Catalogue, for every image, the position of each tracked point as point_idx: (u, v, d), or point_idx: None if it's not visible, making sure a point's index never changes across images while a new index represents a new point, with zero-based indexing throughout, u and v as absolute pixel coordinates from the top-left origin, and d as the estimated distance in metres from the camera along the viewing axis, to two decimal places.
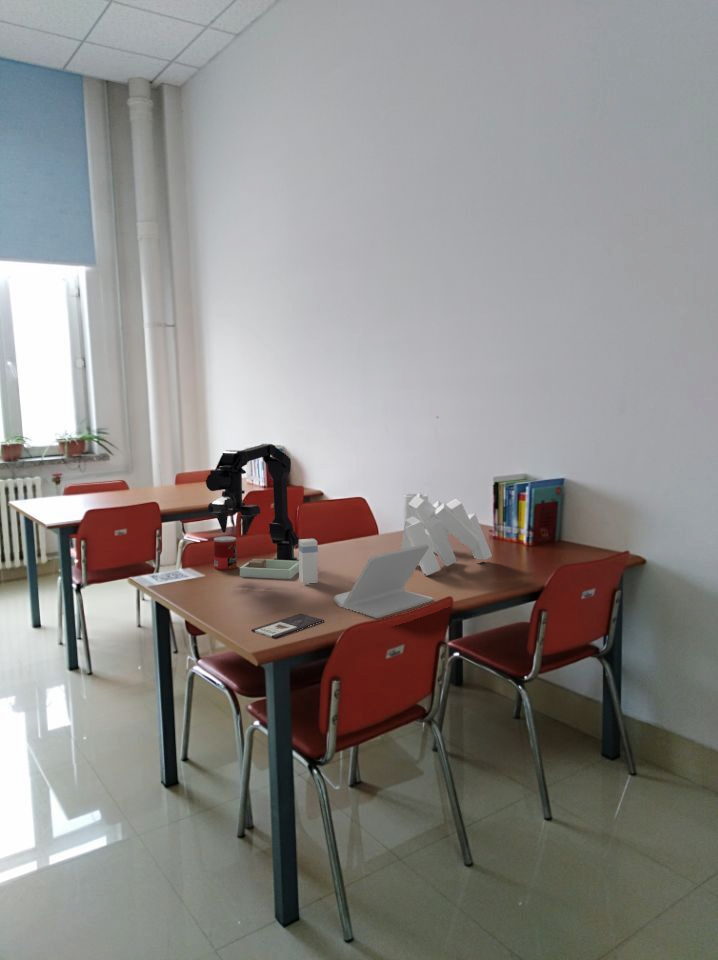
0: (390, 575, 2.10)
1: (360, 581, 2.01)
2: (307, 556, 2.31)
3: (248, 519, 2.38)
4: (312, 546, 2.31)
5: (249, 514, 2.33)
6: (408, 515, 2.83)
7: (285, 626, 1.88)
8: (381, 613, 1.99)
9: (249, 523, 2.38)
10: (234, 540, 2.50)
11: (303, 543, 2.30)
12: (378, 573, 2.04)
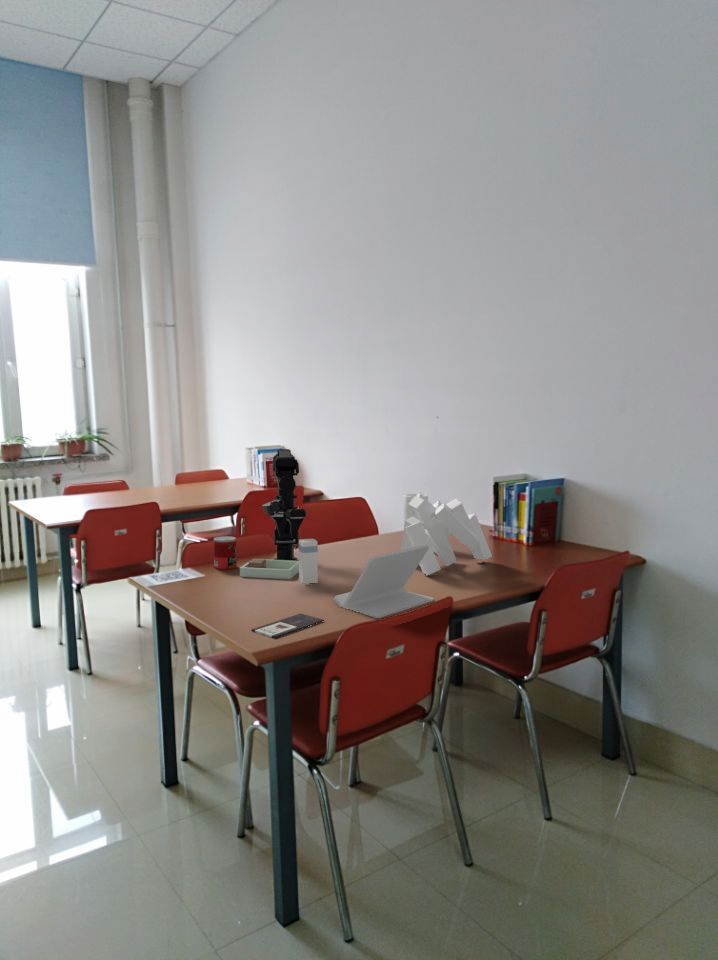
0: (390, 575, 2.10)
1: (361, 581, 2.01)
2: (307, 556, 2.31)
3: (295, 522, 2.43)
4: (312, 546, 2.31)
5: (291, 516, 2.38)
6: (408, 515, 2.83)
7: (285, 626, 1.88)
8: (382, 613, 1.98)
9: (296, 526, 2.43)
10: (234, 540, 2.50)
11: (303, 543, 2.30)
12: (379, 573, 2.04)
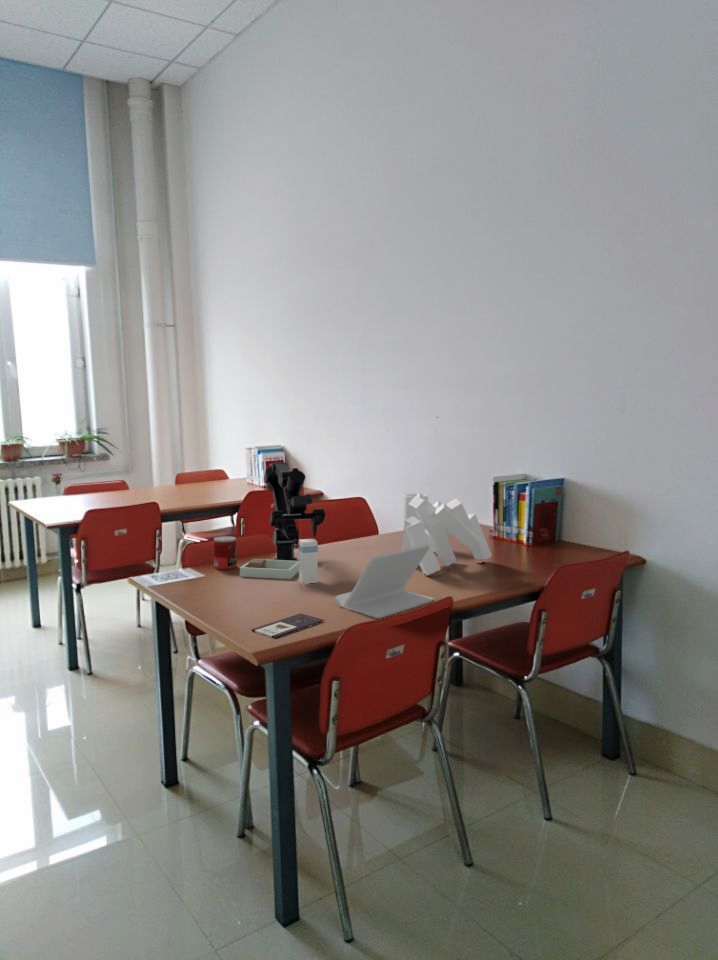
0: (391, 575, 2.10)
1: (361, 582, 2.00)
2: (307, 556, 2.31)
3: None
4: (312, 546, 2.31)
5: (324, 512, 2.46)
6: (408, 515, 2.83)
7: (285, 626, 1.88)
8: (382, 614, 1.98)
9: None
10: (234, 540, 2.50)
11: (303, 543, 2.30)
12: (379, 573, 2.04)
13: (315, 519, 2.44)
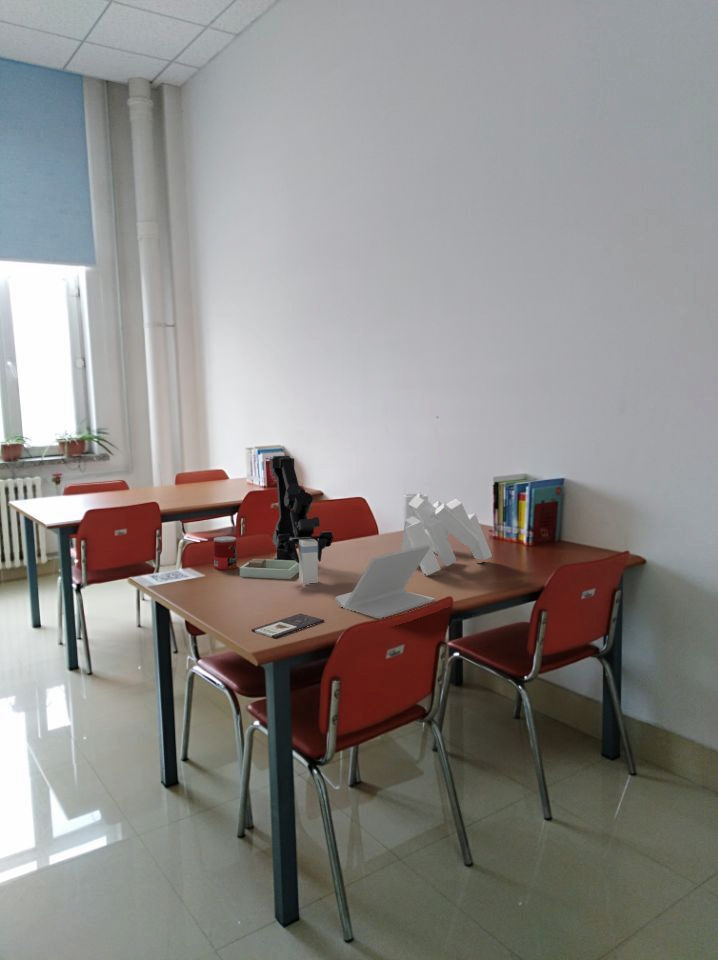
0: (391, 576, 2.10)
1: (362, 582, 2.00)
2: (307, 556, 2.31)
3: None
4: (312, 546, 2.31)
5: (332, 535, 2.38)
6: (408, 515, 2.83)
7: (285, 626, 1.88)
8: (383, 614, 1.98)
9: None
10: (234, 540, 2.50)
11: (303, 543, 2.30)
12: (380, 573, 2.04)
13: (320, 543, 2.36)
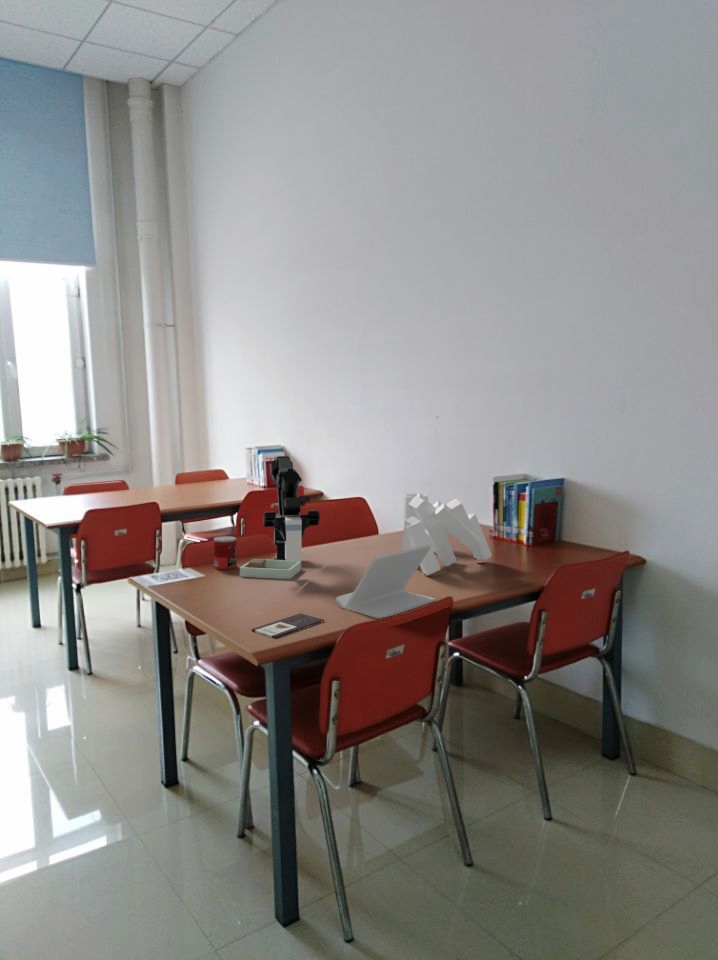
0: (392, 576, 2.10)
1: (363, 582, 2.00)
2: (291, 533, 2.34)
3: None
4: (296, 524, 2.34)
5: (319, 514, 2.40)
6: (408, 515, 2.83)
7: (285, 626, 1.88)
8: (384, 614, 1.98)
9: (304, 530, 2.40)
10: (234, 540, 2.50)
11: (287, 521, 2.33)
12: (381, 573, 2.04)
13: (303, 521, 2.39)
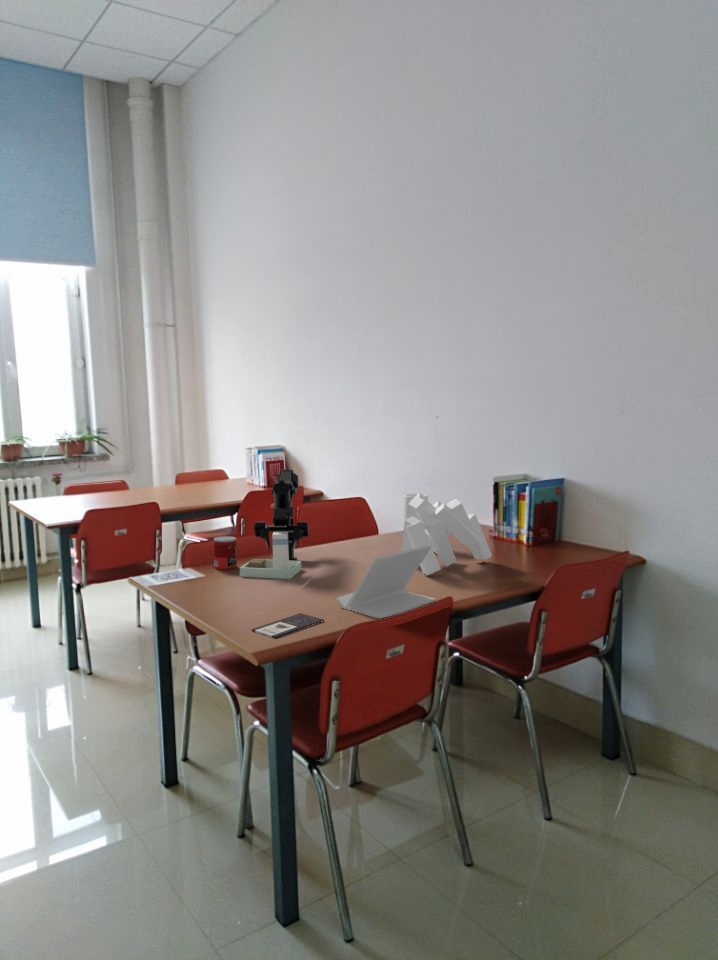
0: (393, 576, 2.09)
1: (364, 582, 2.00)
2: (277, 548, 2.41)
3: (295, 537, 2.46)
4: (282, 539, 2.40)
5: (307, 526, 2.45)
6: (408, 515, 2.83)
7: (285, 626, 1.88)
8: (386, 614, 1.97)
9: (295, 541, 2.45)
10: (234, 540, 2.50)
11: (273, 535, 2.40)
12: (382, 574, 2.03)
13: (294, 532, 2.44)
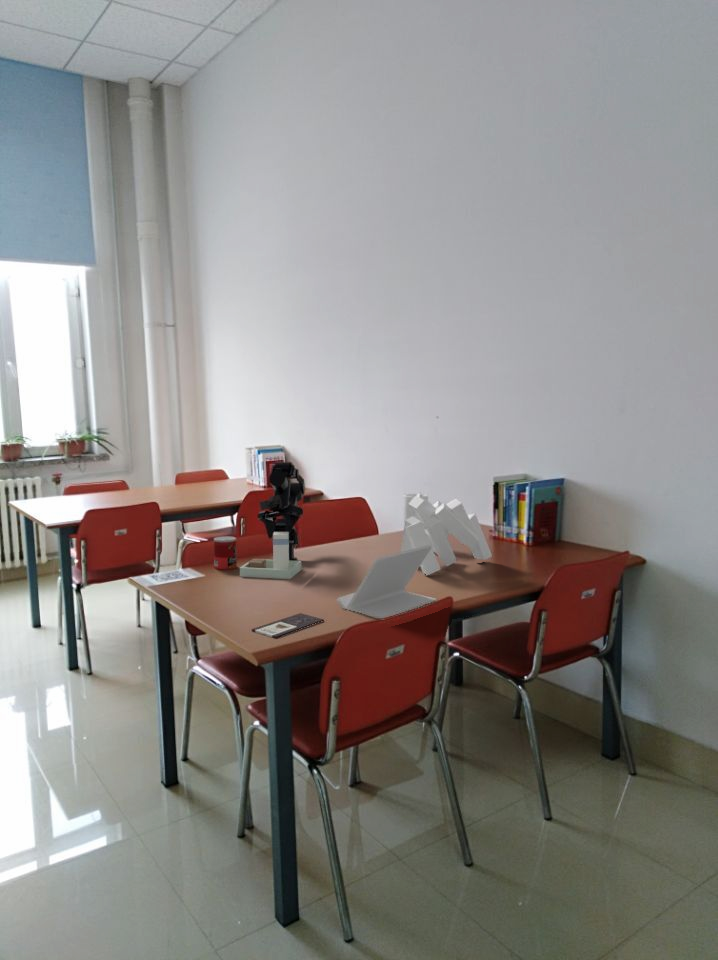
0: (393, 576, 2.09)
1: (365, 583, 1.99)
2: (278, 547, 2.41)
3: (291, 520, 2.51)
4: (283, 539, 2.40)
5: (291, 510, 2.47)
6: (408, 515, 2.83)
7: (285, 626, 1.88)
8: (387, 615, 1.97)
9: (292, 524, 2.51)
10: (234, 540, 2.50)
11: (274, 535, 2.40)
12: (383, 574, 2.03)
13: (285, 517, 2.50)
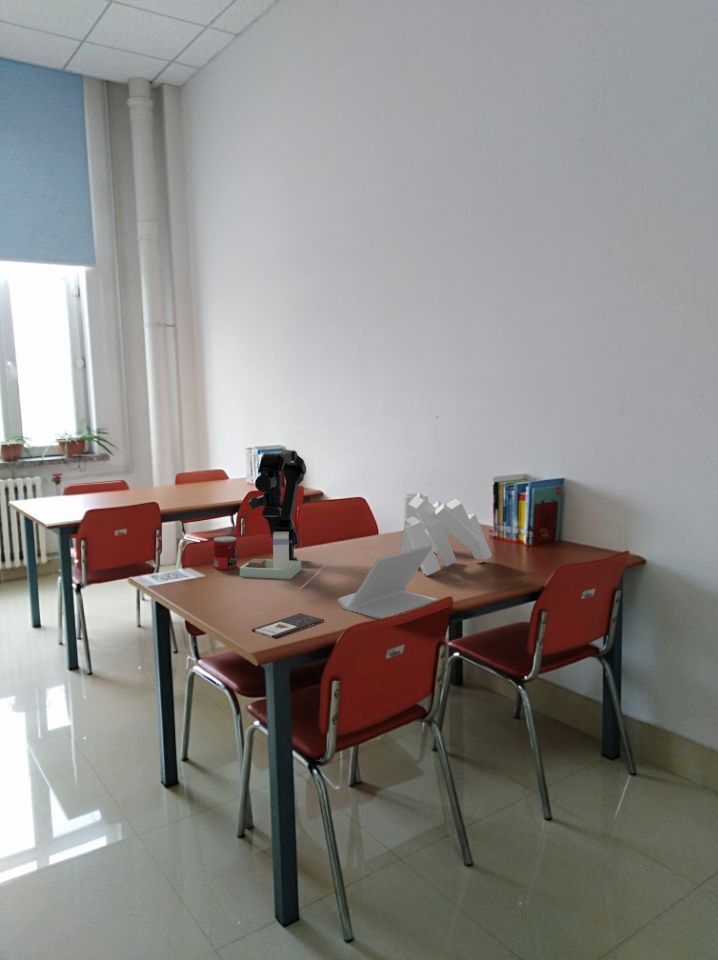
0: (394, 576, 2.09)
1: (366, 583, 1.99)
2: (278, 547, 2.41)
3: (273, 520, 2.46)
4: (283, 539, 2.40)
5: (262, 514, 2.43)
6: (408, 515, 2.83)
7: (285, 625, 1.88)
8: (388, 615, 1.97)
9: (274, 523, 2.47)
10: (234, 540, 2.50)
11: (274, 535, 2.40)
12: (384, 574, 2.03)
13: None
